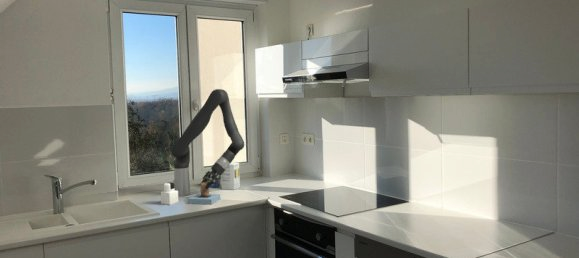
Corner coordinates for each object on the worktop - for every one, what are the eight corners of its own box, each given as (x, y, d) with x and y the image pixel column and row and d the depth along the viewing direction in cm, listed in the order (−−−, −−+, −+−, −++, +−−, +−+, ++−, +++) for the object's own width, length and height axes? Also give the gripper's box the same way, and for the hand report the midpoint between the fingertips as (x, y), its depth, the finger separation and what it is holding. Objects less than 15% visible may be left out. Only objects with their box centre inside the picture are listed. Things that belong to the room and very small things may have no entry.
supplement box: (234, 190, 321) (233, 164, 319) (221, 189, 323) (220, 164, 322) (240, 187, 330) (239, 162, 328) (227, 186, 333) (227, 162, 331)
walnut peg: (200, 202, 288) (199, 183, 287) (203, 200, 292) (202, 182, 291) (207, 202, 287) (206, 183, 286) (210, 200, 291) (209, 182, 290)
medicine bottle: (169, 201, 292) (168, 181, 291) (178, 202, 288) (177, 182, 287) (160, 203, 286) (160, 183, 285) (169, 205, 282) (169, 184, 281)
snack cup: (214, 183, 344) (214, 169, 343) (227, 185, 339) (226, 170, 338) (200, 188, 330) (200, 173, 330) (213, 189, 325) (212, 174, 324)
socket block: (188, 203, 284) (188, 198, 284) (198, 198, 298) (198, 193, 297) (211, 204, 281) (211, 199, 281) (220, 199, 294) (220, 194, 294)
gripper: (211, 160, 298) (194, 181, 293) (221, 163, 286) (203, 185, 280) (220, 168, 301) (203, 189, 296) (229, 171, 289) (212, 193, 284)
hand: (203, 187), depth 288 cm, fingers open, 8 cm apart
